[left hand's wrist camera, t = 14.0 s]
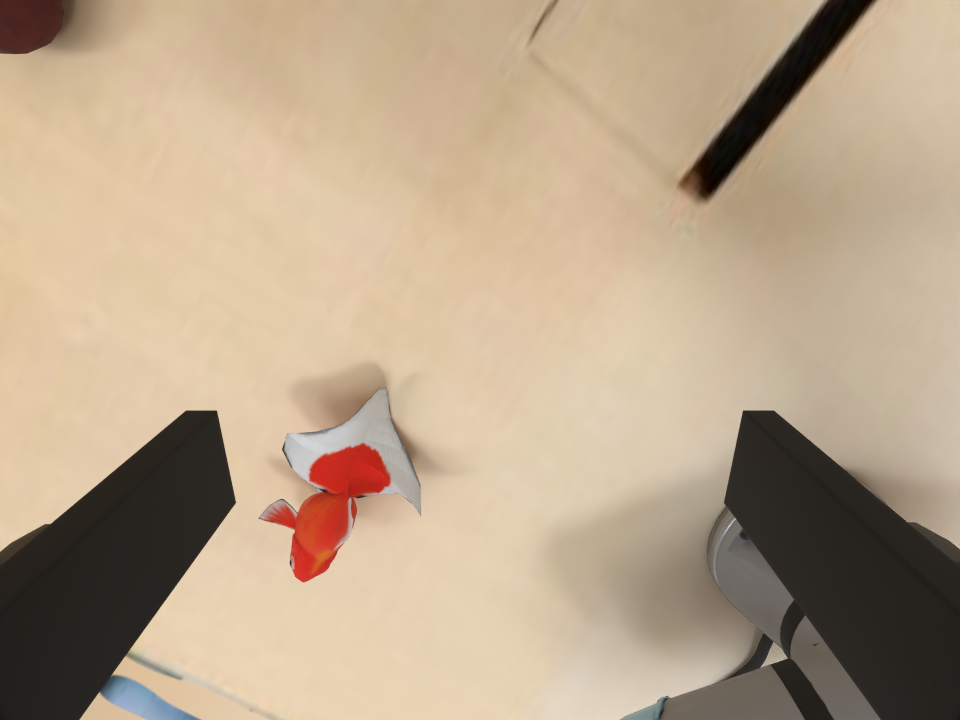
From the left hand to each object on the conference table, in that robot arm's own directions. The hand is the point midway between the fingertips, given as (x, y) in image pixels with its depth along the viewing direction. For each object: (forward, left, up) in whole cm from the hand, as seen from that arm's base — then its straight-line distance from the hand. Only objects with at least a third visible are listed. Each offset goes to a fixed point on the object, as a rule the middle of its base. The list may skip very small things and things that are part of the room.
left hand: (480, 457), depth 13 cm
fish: (-12, +15, -25) cm, 32 cm away
